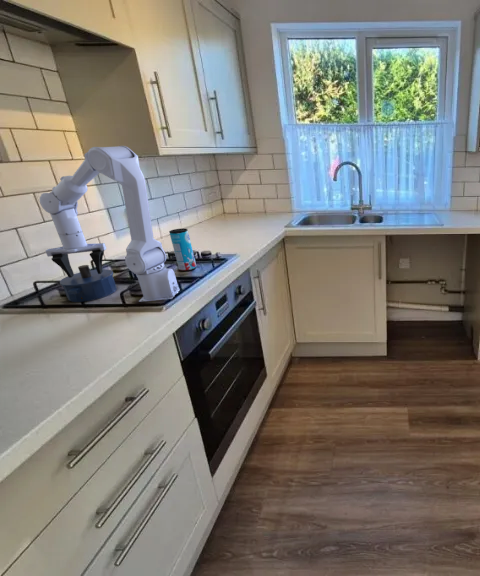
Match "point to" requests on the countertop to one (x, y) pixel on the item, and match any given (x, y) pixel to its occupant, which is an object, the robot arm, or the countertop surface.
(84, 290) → the tin
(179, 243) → the beverage can
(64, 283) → the tin lid
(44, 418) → the countertop surface
